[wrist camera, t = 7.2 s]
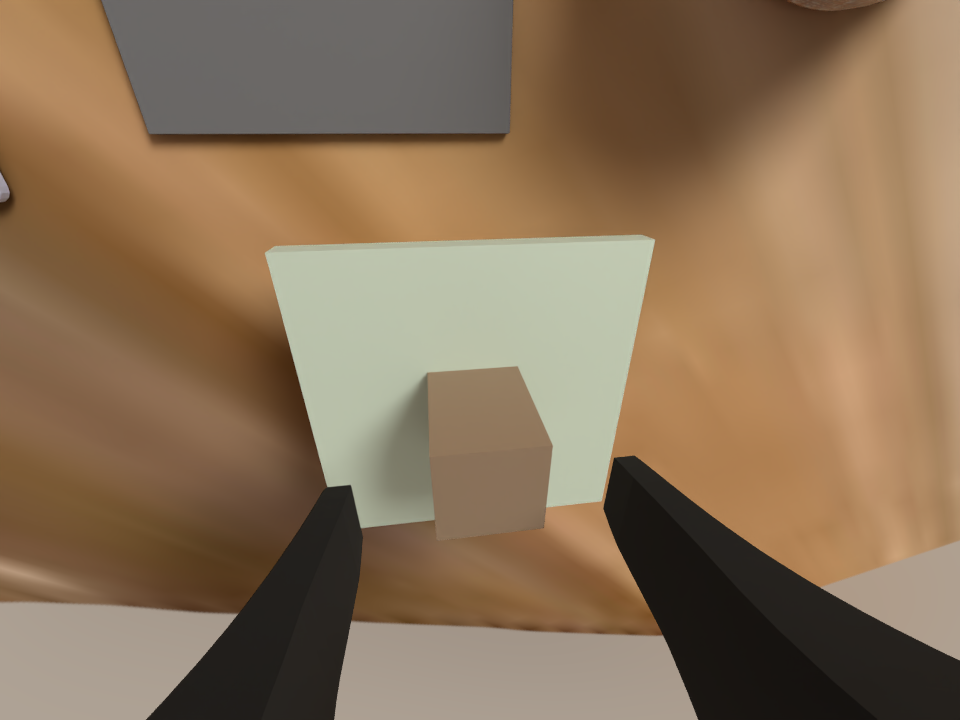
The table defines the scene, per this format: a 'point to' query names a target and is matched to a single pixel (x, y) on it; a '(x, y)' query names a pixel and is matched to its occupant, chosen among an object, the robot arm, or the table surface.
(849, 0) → the planter
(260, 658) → the robot arm
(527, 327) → the lid
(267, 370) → the table surface
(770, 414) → the table surface
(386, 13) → the mat
